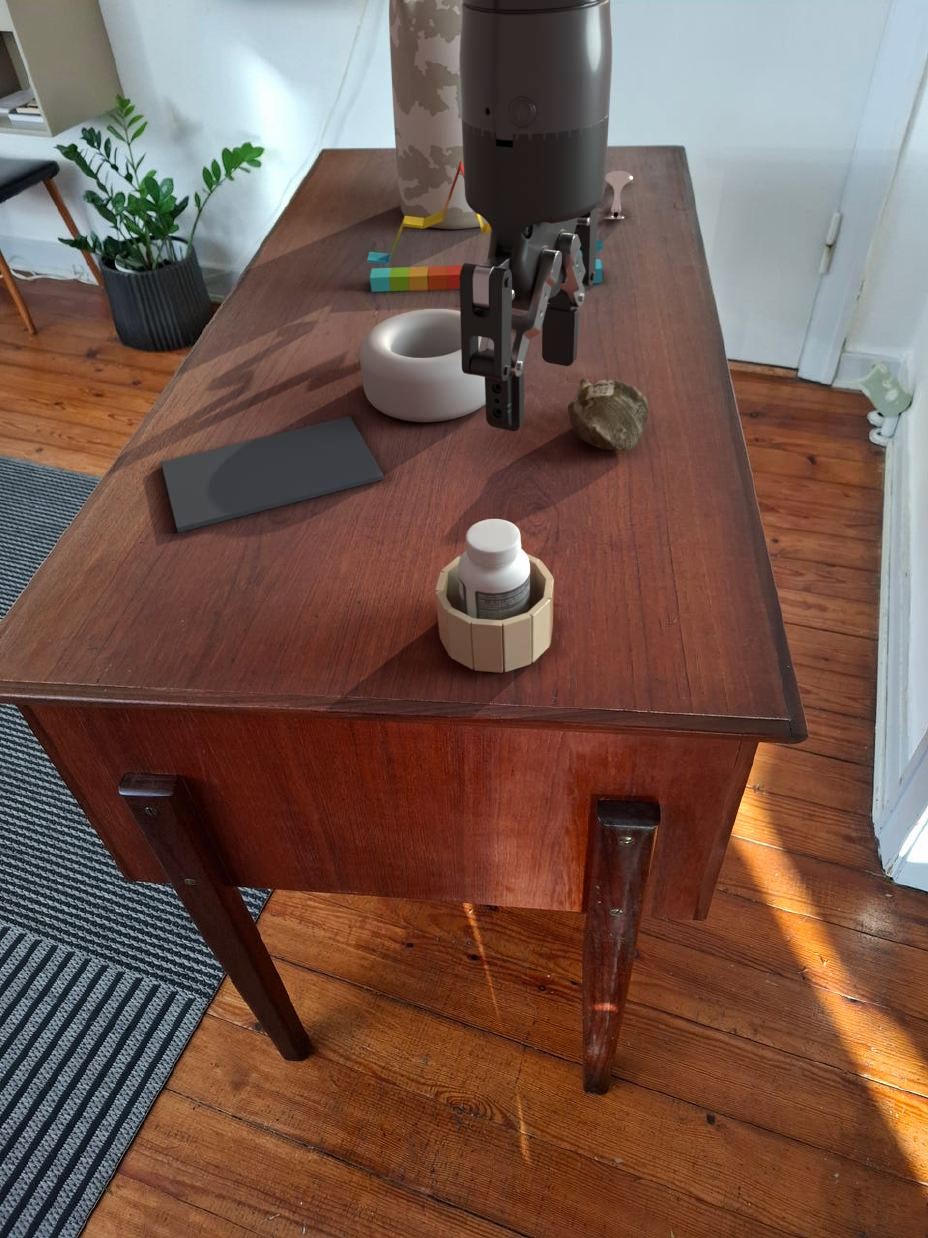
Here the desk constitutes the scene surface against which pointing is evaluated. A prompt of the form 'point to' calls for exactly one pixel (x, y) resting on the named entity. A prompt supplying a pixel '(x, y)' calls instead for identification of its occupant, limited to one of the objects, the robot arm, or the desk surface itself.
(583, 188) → the robot arm
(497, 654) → the bracelet
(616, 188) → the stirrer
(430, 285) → the chart
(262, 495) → the mat
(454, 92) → the vase
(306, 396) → the desk surface
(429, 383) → the fat ring
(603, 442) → the fossilized seashell
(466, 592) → the pill bottle
